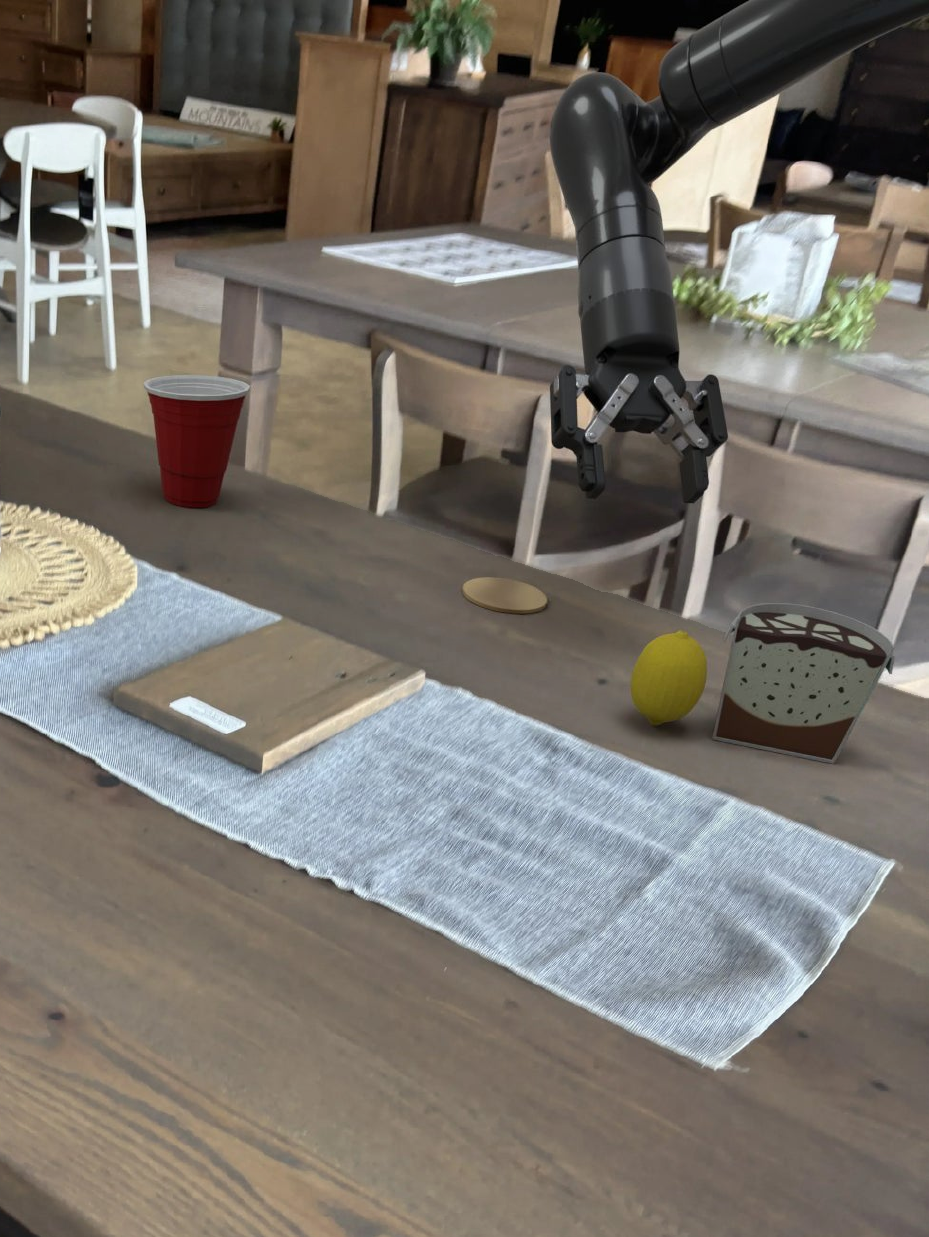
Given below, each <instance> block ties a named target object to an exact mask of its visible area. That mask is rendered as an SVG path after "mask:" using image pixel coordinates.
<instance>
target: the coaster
mask: <svg viewBox="0 0 929 1237" xmlns="http://www.w3.org/2000/svg"><path fill="white" fill-rule="evenodd" d="M461 592H462V594H463V597H464V598H465V599H466V600H468V601H469V602H471V603H472V604H474V605H476V606H478V607H482V608H484V609H487V610H490V611H495V612H500V613H505V614H514V615H515V614H516V615H521V614H522V615H523V614H525V615H526V614H533V613H537V612H540V611H542V610H543V609H545V607H546V606H547V603H548V598H547V596H546V594H545V593H544V592H543V591H541V590H540V589H538V588H537V587H535V586H533V585H530V584H529V583H525V582H522V581H518V580H515V579H510V578H504V577H494V576H493V577H492V576H489V577H488V576H487V577H486V576H485V577H484V576H483V577H476V578H472V579H470V580H468V581H466V582H465V583H464V584H463V586H462V590H461Z"/></svg>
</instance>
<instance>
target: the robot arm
mask: <svg viewBox="0 0 929 1237" xmlns="http://www.w3.org/2000/svg"><path fill="white" fill-rule="evenodd" d="M927 16H929V0H748V1H746V2H744V3H742V4H739V5H738V6H737V7H735V8H733V9H731V10H730V11H729V12H727V13H725V14H723V15H722V16H720V17H719V18H716V19H714V20H713V21H712V22H710V23H708V24H707V25H705V26H703V27H701V28H700V29H698V30H697V31H695V32H694V33H691V34H690V35H688V36H687V37H685V38H683V39H682V40H680V41H679V42H678V43H676V44H675V45H674V46H672V47H671V48H670V49H669V50H668V51H667V52H666V53H665V55H664V57H663V58H662V60H661V62H660V65H659V69H658V76H657V78H658V79H657V83H658V91H659V96H657V97H655V98H654V99H652V100H650V101H645V100H643V99H642V98H641V97H640V96H639V95H638V94H636V93H635V92H634V91H633V90H632V89H631V88H630V87H629V86H628V85H627V84H625V83H624V82H623V81H622V80H620V78H618V77H616V76H614V75H612V74H611V73H607V72H601V71H600V72H599V71H595V72H589V73H586V74H584V75H581V76H580V77H578V78H576V79H575V80H574V81H572V82H571V83H570V84H569V85H568V87H566V88H565V89H564V91H563V92H562V94H561V96H560V97H559V99H558V101H557V103H556V105H555V107H554V110H553V113H552V116H551V121H550V127H549V147H550V148H549V149H550V155H551V159H552V164H553V168H554V171H555V174H556V179H557V180H558V184H559V187H560V190H561V193H562V197H563V200H564V202H565V205H566V207H567V210H568V212H569V215H570V218H571V221H572V224H573V227H574V236H575V247H576V258H577V272H578V288H577V301H578V306H577V314H578V317H579V324H580V331H581V332H580V334H581V345H582V356H583V366H584V372H585V374H584V373H577V370H576V369H575V368H574V366H572V365H570V364H565V365H564V366H562V368H561V369H560V371H559V372H558V373H557V375H556V377H554V379H553V381H552V382H551V383H550V385H549V403H550V404H549V406H550V409H549V410H550V441H551V445H552V446H553V447H554V448H555V449H557V450H562V449H564V448H565V449H567V450H570V451H571V452H572V453H573V454H574V456H575V458H576V467H577V468H576V470H577V478H578V479H577V480H578V487H579V488H580V490H581V492H585V498H586V499H589V500H597V499H598V498H599V496H600V495H601V494H603V493H604V491H605V489H606V484H607V482H606V473H605V462H604V453H603V452H604V450H603V444H598V442H599V440H600V439H601V437H602V436H603V434H604V433H605V432H606V430H607V429H608V428H609V427H610V428H612V429H614V432H615V433H629V432H632V431H633V432H637V433H639V434H645V435H652V433H653V434H654V435H656V438H658V439H659V441H660V442H661V443H662V444H663V445H666V446H667V445H668V446H670V448H672V450H673V451H674V452H675V453H676V455H677V456H678V457H679V458H680V460H681V461H679V463H678V464H679V474H680V475H679V476H680V483H681V484H680V485H681V493H682V501H683V503H684V504H695V503H696V502H697V501H698V500H699V499H700V498H701V497H703V495H704V493H705V492H706V491H707V490H708V489H709V485H710V478H709V469H708V461H707V460H708V459H707V458H709V457H712V455H713V454H714V453H716V451H717V450H718V449H719V448H720V447H721V446H722V445H724V444H725V443H726V442H727V440H728V439H729V435H728V428H727V422H726V415H725V410H724V405H723V398H722V393H721V387H720V381H719V378H718V377H717V375H714V374H707V375H706V376H705V377H704V378H703V379H701V380H686V379H685V377H684V376H683V374H682V373H681V370H680V368H679V367H680V365H679V363H680V351H681V350H680V342H679V331H678V323H677V314H676V313H677V312H676V304H675V294H674V287H673V278H672V272H671V268H670V265H669V261H668V257H667V252H666V244H665V233H664V225H663V217H662V210H661V206H660V201H659V199H658V197H657V195H656V193H655V192H654V190H653V189H652V187H651V186H650V185H651V184H653V183H654V182H655V181H657V179H659V178H660V177H661V176H662V175H664V174H665V173H666V172H667V171H669V170H670V169H671V167H672V166H674V165H675V164H676V163H677V162H678V161H679V160H681V159H682V158H683V157H684V156H685V155H686V154H687V153H689V152H690V151H691V150H692V149H693V148H695V146H696V145H697V144H698V143H699V142H700V141H701V140H702V139H703V138H705V137H706V136H707V135H708V134H709V133H710V132H711V131H713V130H715V129H716V128H717V129H718V128H719V127H721V126H723V125H725V124H727V123H729V122H730V121H732V120H734V119H736V118H738V117H740V116H742V115H743V114H745V113H747V112H749V111H751V110H753V109H755V108H757V107H758V106H761V105H762V104H764V103H766V102H768V101H770V100H772V99H773V98H775V97H777V96H778V95H781V94H782V93H784V92H785V91H787V90H789V89H791V88H792V87H794V86H795V85H798V84H799V83H800V82H802V81H804V80H806V79H807V78H809V77H811V76H812V75H814V74H815V73H817V72H819V71H820V70H822V69H823V68H825V67H827V66H828V65H830V64H833V63H834V62H835V61H837V60H839V59H840V58H842V57H844V56H845V55H847V54H849V53H851V52H853V51H854V50H856V49H859V48H860V47H862V46H864V45H865V44H867V43H869V42H871V41H873V40H875V39H878V38H879V37H881V36H884V35H886V34H888V33H890V32H892V31H895V30H897V29H899V28H901V27H903V26H905V25H908V24H910V23H912V22H915V21H917V20H920V19H922V18H926V17H927ZM582 393H583V395H584V396H585V398H586V399H587V400H588V402H589V403H590V404H591V405H592V407H593V408H594V409H595V411H597V412H596V414H594V416H593V418H592V419H591V420H590V422H589V424H587V426H586V428H585V429H584V428H581V427H579V422H578V421H579V420H578V419H579V418H578V399H579V397H580V396H581V394H582ZM683 399H684V400H686V402H687V405H686V403H685V401H683ZM671 416H672V417H673V419H674V423H673V425H670V424H669V423H668V422H667V421H668V420H669V418H670V417H671Z"/></svg>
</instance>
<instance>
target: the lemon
mask: <svg viewBox="0 0 929 1237" xmlns="http://www.w3.org/2000/svg"><path fill="white" fill-rule="evenodd" d="M707 672H708V662H707V656H706V653H705V651H704V649H703V648H702V646H701V644H700V643H698V641H697V640H695V639H694V638H693V637H691V636H689V634H688V632H687V631H685V630H677V631H675V632H671V633H666V634H661V635H659V636H658V637H656V638H654V639H653V640H651V641H650V642H649V643H648V644H646V646H645V647H644V648H643V650H642V651H641V653H640V654H639V656H638V659H637V660H636V662H635V665H634V667H633V670H632V673H631V678H630V696H631V700H632V702H633V705H634V706H635V708H636V709H637V711H638V712H639V713H640V714H641V715H643V716H644V717H646V718H647V719H648V721H649V723H650V724H651V725H652V726H657V727H658V726H660V725H662V724H664V723H665V722H666V723H667V722H668V723H671V722H674V721H678V720H679V719H681V718H684V717H685V716H686V715H688V714H689V713H690V712H691V711H692V710H693V709H694V708H695V707H696V706H697V704H698V702H699V701H700V699H701V697H702V694H703V692H704V690H705V686H706V681H707V675H708V674H707Z"/></svg>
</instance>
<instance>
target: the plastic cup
mask: <svg viewBox="0 0 929 1237" xmlns="http://www.w3.org/2000/svg"><path fill="white" fill-rule="evenodd" d="M142 385H143V388H144V390H145V391H146V392H147V396H148V400H149V404H150V405H151V406H150V407H151V413H152V415H153V426H154V433H155V442H156V450H157V460H158V466H159V471H160V481H161V483H160V484H161V491H162V492H163V498H164V499H165V501H167V503H168V502H169V503H170V504H173V505H176V506H180V507H183V508H192V509H193V508H196V509H197V508H198V509H199V508H201V509H203V508H207V507H212V506H214V505H216V504H217V502H218V499H219V496H220V495H221V494H220V493H221V490H222V486H223V482H224V478H225V477H224V476H225V474H226V471H227V468H228V464H229V460H230V456H231V451H232V447H233V443H234V439H235V435H236V431H237V425H238V422H239V419H240V417H241V412H242V409H243V407H244V401H245V399H246V396H247V395H248V393H249V392H250V389H251V386H250V385H249V384H248V383H246V381H241V380H238V379H234V378H230V377H223V376H215V375H202V374H201V375H199V374H178V375H177V374H176V375H166V376H157V377H154V378H150V379H146V380H145V382H144V383H143V384H142Z"/></svg>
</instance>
